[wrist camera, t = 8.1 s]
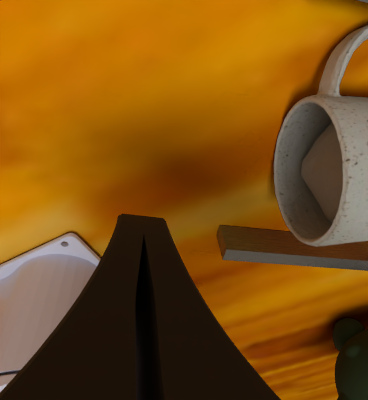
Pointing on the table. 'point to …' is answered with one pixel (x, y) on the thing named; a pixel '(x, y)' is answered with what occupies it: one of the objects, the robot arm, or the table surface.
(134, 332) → the robot arm
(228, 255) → the coupler cradle
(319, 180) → the ceramic mug
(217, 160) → the table surface
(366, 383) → the toy figurine
